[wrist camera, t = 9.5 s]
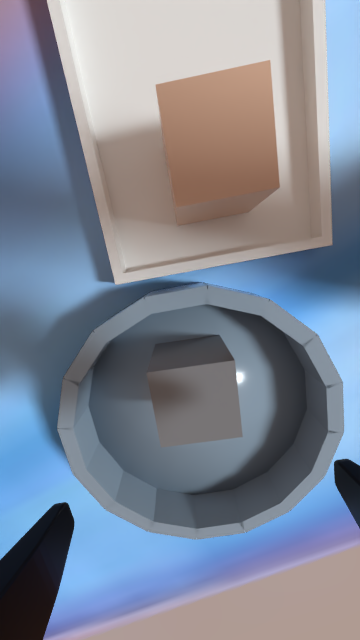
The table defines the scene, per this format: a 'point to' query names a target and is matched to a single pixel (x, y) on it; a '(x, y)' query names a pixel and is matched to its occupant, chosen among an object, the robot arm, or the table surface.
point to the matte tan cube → (219, 141)
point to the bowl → (213, 456)
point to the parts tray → (145, 130)
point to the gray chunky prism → (194, 391)
